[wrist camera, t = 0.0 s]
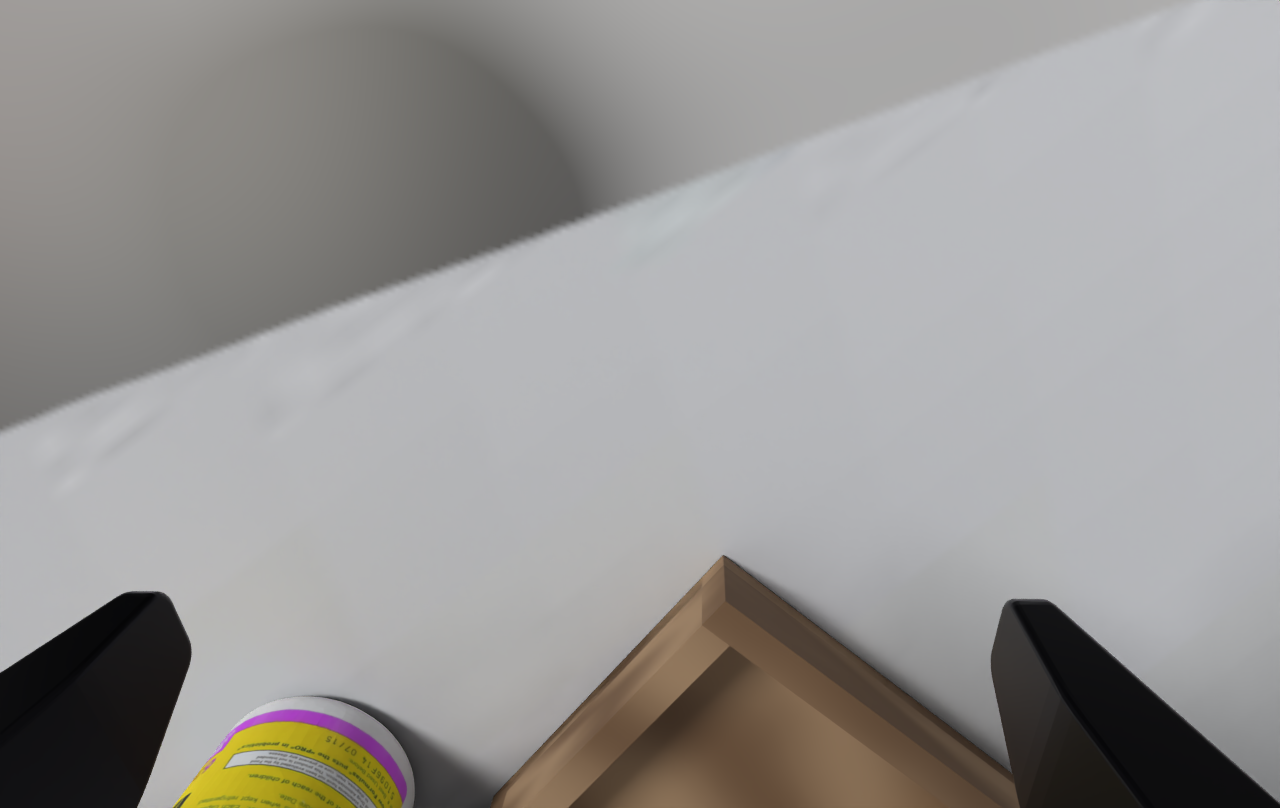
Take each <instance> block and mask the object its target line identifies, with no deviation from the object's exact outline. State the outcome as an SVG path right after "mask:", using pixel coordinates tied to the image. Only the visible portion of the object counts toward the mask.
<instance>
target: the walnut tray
mask: <svg viewBox="0 0 1280 808" xmlns="http://www.w3.org/2000/svg"><path fill="white" fill-rule="evenodd" d="M490 808H1020V806H1019V802H1018V798H1017V793H1016V789H1015V784H1014V779H1013V775H1012V773H1011V772H1009V771H1008V770H1007V769H1005V768H1004V767H1003V766H1001V765H1000V764H999V763H997V762H996V761H995V760H993V759H992V758H991V757H990V756H988V755H987V754H986V753H984V752H983V751H982V750H980V749H979V748H978V747H976V746H975V745H974V744H972V743H971V742H970V741H968V740H967V739H966V738H964V737H963V736H962V735H960V734H959V733H958V732H956V731H955V730H954V729H953V728H951V727H950V726H949V725H947V724H946V723H945V722H943V721H942V720H941V719H939V718H938V717H937V716H935V715H934V714H933V713H931V712H930V711H929V710H927V709H926V708H925V707H923V706H922V705H921V704H919V703H918V702H917V701H915V700H914V699H913V698H912V697H910V696H909V695H908V694H906V693H905V692H904V691H902V690H901V689H900V688H898V687H897V686H896V685H894V684H893V683H892V682H890V681H889V680H888V679H886V678H885V677H884V676H882V675H881V674H880V673H878V672H877V671H876V670H875V669H873V668H872V667H871V666H869V665H868V664H867V663H865V662H864V661H863V660H861V659H860V658H859V657H857V656H856V655H855V654H853V653H852V652H851V651H849V650H848V649H847V648H845V647H844V646H843V645H841V644H840V643H839V642H837V641H836V640H835V639H834V638H832V637H831V636H830V635H828V634H827V633H826V632H824V631H823V630H822V629H820V628H819V627H818V626H816V625H815V624H814V623H812V622H811V621H810V620H808V619H807V618H806V617H804V616H803V615H802V614H800V613H799V612H798V611H797V610H795V609H794V608H793V607H791V606H790V605H789V604H787V603H786V602H785V601H783V600H782V599H781V598H779V597H778V596H777V595H775V594H774V593H773V592H771V591H770V590H769V589H767V588H766V587H765V586H763V585H762V584H761V583H759V582H758V581H757V580H756V579H754V578H753V577H752V576H750V575H749V574H748V573H746V572H745V571H744V570H742V569H741V568H740V567H738V566H737V565H736V564H734V563H733V562H732V561H730V560H729V559H728V558H726V557H725V556H724V555H723V556H722V557H721V558H720V559H719V560H718V561H717V562H716V563H715V564H714V565H713V566H712V567H711V568H710V569H709V570H708V572H707V573H706V574H705V575H704V576H703V577H702V578H701V579H700V580H699V581H698V582H697V583H696V584H695V585H694V586H693V587H692V588H691V589H690V590H689V591H688V593H687V594H686V595H685V596H684V597H683V598H682V599H681V600H680V601H679V602H678V603H677V604H676V605H675V606H674V607H673V608H672V609H671V610H670V611H669V612H668V614H667V615H666V616H665V617H664V618H663V619H662V620H661V621H660V622H659V623H658V624H657V625H656V626H655V627H654V628H653V629H652V630H651V631H650V632H649V634H648V635H647V636H646V637H645V638H644V639H643V640H642V641H641V642H640V643H639V644H638V645H637V646H636V647H635V648H634V649H633V650H632V651H631V652H630V653H629V655H628V656H627V657H626V658H625V659H624V660H623V661H622V662H621V663H620V664H619V665H618V666H617V667H616V668H615V669H614V670H613V671H612V672H611V673H610V674H609V676H608V677H607V678H606V679H605V680H604V681H603V682H602V683H601V684H600V685H599V686H598V687H597V688H596V689H595V690H594V691H593V692H592V693H591V694H590V696H589V697H588V698H587V699H586V700H585V701H584V702H583V703H582V704H581V705H580V706H579V707H578V708H577V709H576V710H575V711H574V712H573V713H572V714H571V715H570V717H569V718H568V719H567V720H566V721H565V722H564V723H563V724H562V725H561V726H560V727H559V728H558V729H557V730H556V731H555V732H554V733H553V734H552V735H551V736H550V738H549V739H548V740H547V741H546V742H545V743H544V744H543V745H542V746H541V747H540V748H539V749H538V750H537V751H536V752H535V753H534V754H533V755H532V756H531V758H530V759H529V760H528V761H527V762H526V763H525V764H524V765H523V766H522V767H521V768H520V769H519V770H518V771H517V772H516V773H515V774H514V775H513V776H512V777H511V779H510V780H509V781H508V782H507V783H506V784H505V785H504V786H503V787H502V788H501V789H500V790H499V791H498V792H497V793H496V794H495V795H494V797H493V800H492V803H491V806H490Z"/></svg>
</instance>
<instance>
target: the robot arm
mask: <svg viewBox="0 0 1280 808" xmlns="http://www.w3.org/2000/svg"><path fill="white" fill-rule="evenodd" d="M190 661H191V643H190V640H189V638H188V635H187V633H186V631H185V629H184V627H183V625H182V622H181V620H180V618H179V616H178V614H177V612H176V609H175V607H174V605H173V603H172V601H171V599H170V598H169V597H168V596H167V595H166V594H164V593H162V592H154V591H131V592H126V593H123V594H121V595H119V596H118V597H116V598H115V599H113V600H112V601H110V602H108V603H107V604H105V605H104V606H102V607H101V608H99V609H98V610H96V611H95V612H93V613H92V614H90V615H88V616H87V617H85V618H84V619H82V620H81V621H79V622H78V623H76V624H75V625H73V626H72V627H70V628H69V629H67V630H65V631H64V632H62V633H61V634H59V635H58V636H56V637H55V638H53V639H52V640H50V641H49V642H47V643H45V644H44V645H42V646H41V647H39V648H38V649H36V650H35V651H33V652H32V653H30V654H29V655H27V656H26V657H24V658H22V659H21V660H19V661H18V662H16V663H15V664H13V665H12V666H10V667H9V668H7V669H6V670H4V671H3V672H1V673H0V808H137V807H138V804H139V802H140V800H141V797H142V795H143V793H144V790H145V788H146V785H147V783H148V780H149V777H150V775H151V772H152V769H153V767H154V764H155V761H156V758H157V755H158V753H159V750H160V747H161V744H162V741H163V739H164V736H165V733H166V730H167V727H168V724H169V722H170V719H171V716H172V713H173V710H174V708H175V705H176V702H177V699H178V696H179V694H180V691H181V688H182V685H183V682H184V680H185V677H186V674H187V671H188V668H189V665H190ZM991 672H992V678H993V683H994V688H995V693H996V698H997V702H998V707H999V712H1000V717H1001V722H1002V726H1003V731H1004V736H1005V741H1006V746H1007V750H1008V755H1009V760H1010V765H1011V769H1012V774H1013V779H1014V784H1015V789H1016V793H1017V798H1018V802H1019V806H1020V808H1280V803H1279V802H1278V801H1277V800H1275V799H1274V798H1273V797H1272V796H1271V795H1270V794H1269V793H1268V792H1266V791H1265V790H1264V789H1263V788H1262V787H1261V786H1260V785H1259V784H1257V783H1256V782H1255V781H1254V780H1253V779H1252V778H1251V777H1249V776H1248V775H1247V774H1246V773H1245V772H1244V771H1243V770H1242V769H1240V768H1239V767H1238V766H1237V765H1236V764H1235V763H1234V762H1232V761H1231V760H1230V759H1229V758H1228V757H1227V756H1226V755H1225V754H1223V753H1222V752H1221V751H1220V750H1219V749H1218V748H1217V747H1215V746H1214V745H1213V744H1212V743H1211V742H1210V741H1209V740H1208V739H1206V738H1205V737H1204V736H1203V735H1202V734H1201V733H1200V732H1199V731H1197V730H1196V729H1195V728H1194V727H1193V726H1192V725H1191V724H1189V723H1188V722H1187V721H1186V720H1185V719H1184V718H1183V717H1182V716H1180V715H1179V714H1178V713H1177V712H1176V711H1175V710H1174V709H1172V708H1171V707H1170V706H1169V705H1168V704H1167V703H1166V702H1165V701H1163V700H1162V699H1161V698H1160V697H1159V696H1158V695H1157V694H1155V693H1154V692H1153V691H1152V690H1151V689H1150V688H1149V687H1148V686H1146V685H1145V684H1144V683H1143V682H1142V681H1141V680H1140V679H1139V678H1137V677H1136V676H1135V675H1134V674H1133V673H1132V672H1131V671H1129V670H1128V669H1127V668H1126V667H1125V666H1124V665H1123V664H1122V663H1120V662H1119V661H1118V660H1117V659H1116V658H1115V657H1114V656H1112V655H1111V654H1110V653H1109V652H1108V651H1107V650H1106V649H1105V648H1103V647H1102V646H1101V645H1100V644H1099V643H1098V642H1097V641H1095V640H1094V639H1093V638H1092V637H1091V636H1090V635H1089V634H1088V633H1086V632H1085V631H1084V630H1083V629H1082V628H1081V627H1080V626H1079V625H1077V624H1076V623H1075V622H1074V621H1073V620H1072V619H1071V618H1069V617H1068V616H1067V615H1066V614H1065V613H1064V612H1063V611H1062V610H1060V609H1059V608H1058V607H1057V606H1056V605H1055V604H1053V603H1051V602H1050V601H1048V600H1044V599H1011V600H1009V601H1007V602H1006V603H1005V605H1004V607H1003V609H1002V613H1001V617H1000V621H999V625H998V629H997V633H996V637H995V641H994V645H993V649H992V654H991Z"/></svg>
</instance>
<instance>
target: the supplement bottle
mask: <svg viewBox="0 0 1280 808" xmlns="http://www.w3.org/2000/svg"><path fill="white" fill-rule="evenodd" d="M414 799H415V784H414V777H413V772H412V768H411V765H410V762H409V760H408V758H407V755H406V754H405V752H404V750H403V748H402V746H401V745H400V744H399V742H398V741H397V740H396V738H395V737H394V736H393V735H392V734H391V733H390V731H389V730H388V729H387V728H386V727H384V726H383V725H382V724H381V723H380V722H378V721H377V720H376V719H375V718H373V717H371V716H370V715H368V714H367V713H365V712H363V711H361V710H359V709H358V708H356V707H353V706H351V705H349V704H346V703H343V702H340V701H337V700H332V699H328V698H323V697H312V696H300V697H289V698H283V699H279V700H275V701H272V702H269V703H267V704H264V705H262V706H260V707H258V708H257V709H255V710H253V711H252V712H250V713H249V714H247V715H246V716H245V717H243V718H242V719H241V720H240V721H239V722H238V723H237V724H236V725H235V726H234V727H233V729H232V730H231V731H230V732H229V734H228V735H227V736H226V738H225V739H224V740H223V741H222V742H221V744H220V745H219V746H218V748H217V749H216V751H215V752H214V753H213V754H212V756H211V757H210V758H209V760H208V761H207V762H206V764H205V765H204V766H203V767H202V769H201V770H200V772H199V773H198V774H197V776H196V777H195V778H194V780H193V781H192V782H191V784H190V785H189V786H188V788H187V789H186V790H185V792H184V793H183V794H182V796H181V797H180V798H179V800H178V801H177V802H176V804H175V805H174V806H173V808H413V805H414Z"/></svg>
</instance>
